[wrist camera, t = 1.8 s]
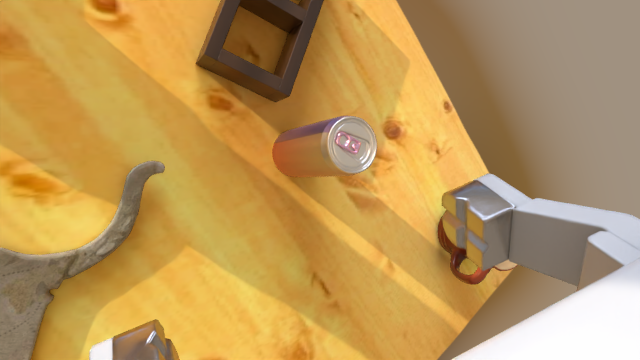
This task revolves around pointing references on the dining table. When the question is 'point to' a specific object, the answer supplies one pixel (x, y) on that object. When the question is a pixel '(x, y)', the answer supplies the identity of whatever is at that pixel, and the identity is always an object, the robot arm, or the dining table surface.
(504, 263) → the mug
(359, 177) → the dining table surface
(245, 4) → the holder
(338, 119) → the beverage can
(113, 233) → the decorative wall piece
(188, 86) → the dining table surface
